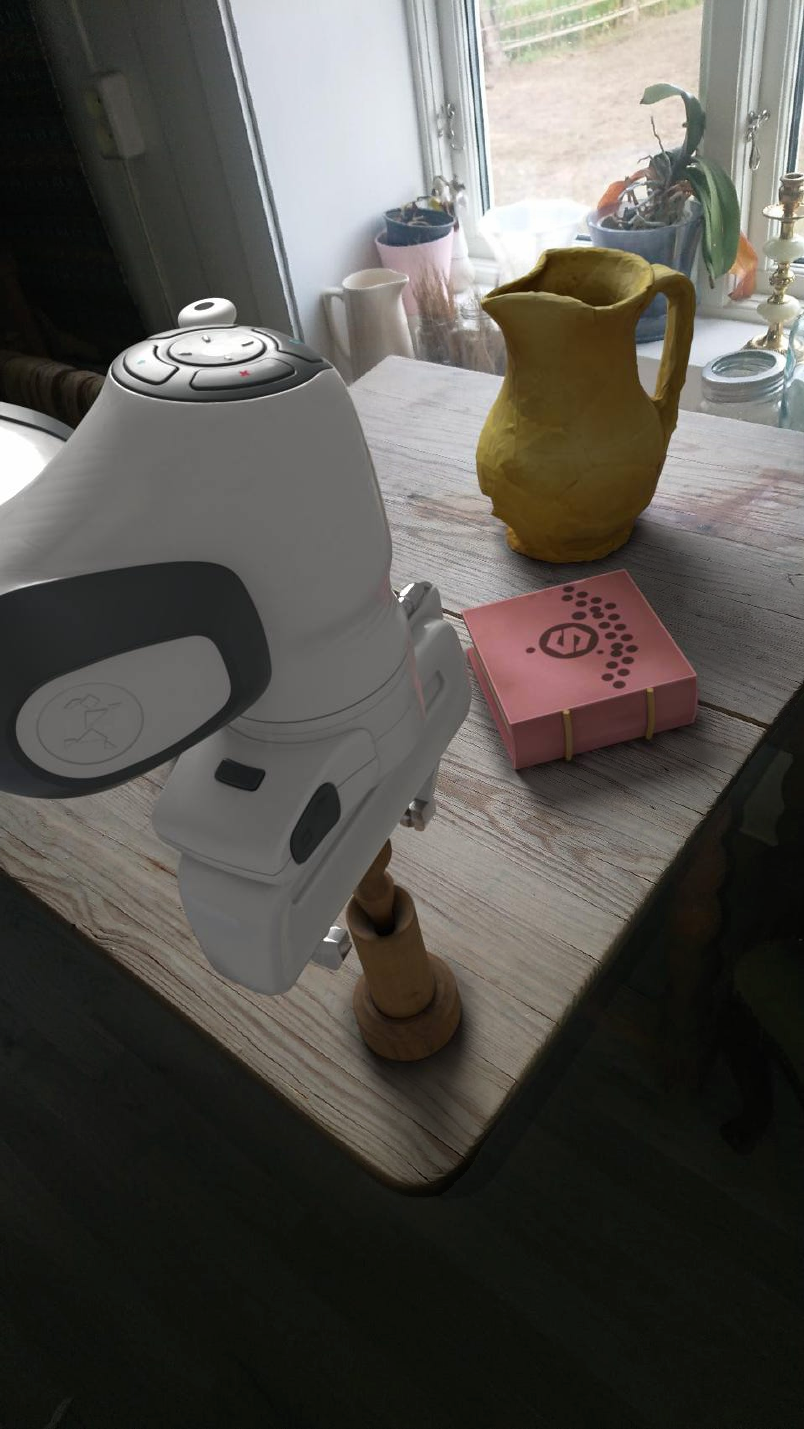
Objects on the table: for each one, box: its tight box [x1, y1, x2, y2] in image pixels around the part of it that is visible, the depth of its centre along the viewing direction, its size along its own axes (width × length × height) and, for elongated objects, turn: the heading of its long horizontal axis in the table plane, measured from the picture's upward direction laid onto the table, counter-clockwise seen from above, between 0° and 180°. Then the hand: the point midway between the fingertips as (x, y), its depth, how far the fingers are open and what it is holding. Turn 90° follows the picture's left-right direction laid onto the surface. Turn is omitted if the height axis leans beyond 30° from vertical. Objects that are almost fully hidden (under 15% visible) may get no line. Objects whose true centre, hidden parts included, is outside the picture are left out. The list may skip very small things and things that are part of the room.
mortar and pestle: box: [345, 837, 462, 1062], centre depth 55 cm, size 7×6×18 cm
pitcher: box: [474, 246, 697, 564], centre depth 88 cm, size 17×19×25 cm
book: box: [460, 568, 699, 771], centre depth 78 cm, size 14×15×5 cm
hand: (377, 884), depth 52 cm, fingers open, 8 cm apart
